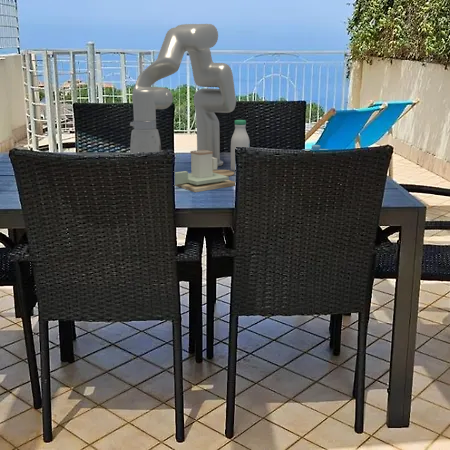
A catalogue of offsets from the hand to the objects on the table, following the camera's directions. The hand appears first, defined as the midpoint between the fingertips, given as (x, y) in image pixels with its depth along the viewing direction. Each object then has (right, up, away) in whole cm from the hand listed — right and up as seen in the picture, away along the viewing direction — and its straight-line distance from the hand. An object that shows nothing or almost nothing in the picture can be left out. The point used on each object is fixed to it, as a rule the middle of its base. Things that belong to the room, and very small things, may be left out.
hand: (147, 177), depth 216 cm
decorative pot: (+61, -1, +11) cm, 62 cm away
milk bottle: (+34, +6, +34) cm, 48 cm away
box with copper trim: (+20, +1, +7) cm, 21 cm away
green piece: (+16, -1, +4) cm, 17 cm away
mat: (+25, +3, +26) cm, 36 cm away
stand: (+19, -2, +7) cm, 21 cm away
